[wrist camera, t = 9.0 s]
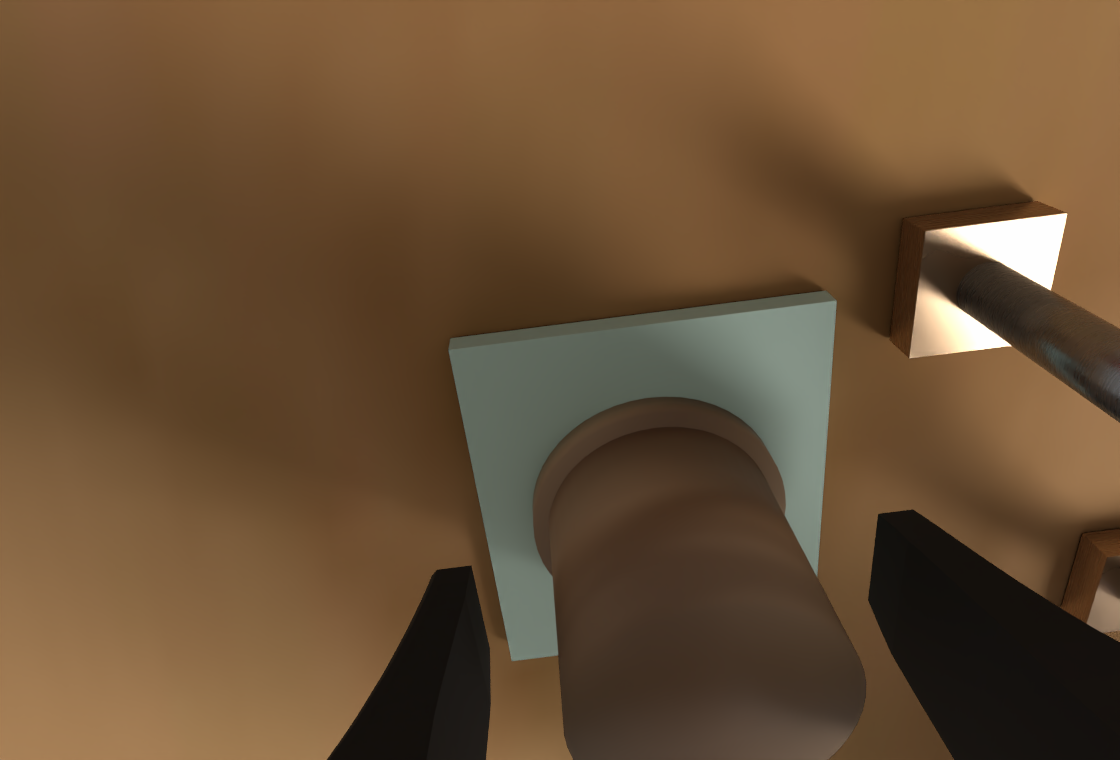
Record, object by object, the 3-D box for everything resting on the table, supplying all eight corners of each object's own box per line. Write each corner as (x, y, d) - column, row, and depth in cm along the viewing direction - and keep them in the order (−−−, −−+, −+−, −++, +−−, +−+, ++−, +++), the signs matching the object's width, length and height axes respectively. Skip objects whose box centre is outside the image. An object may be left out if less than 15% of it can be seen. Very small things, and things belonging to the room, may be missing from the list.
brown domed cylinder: (779, 381, 14) (905, 563, 10) (772, 579, 16) (871, 798, 12) (516, 414, 14) (519, 612, 10) (547, 607, 16) (562, 838, 12)
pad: (826, 290, 14) (836, 300, 13) (806, 606, 17) (814, 622, 17) (450, 338, 14) (448, 350, 13) (511, 644, 17) (511, 661, 17)
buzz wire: (1317, 164, 13) (1937, 301, 7) (1070, 836, 23) (1257, 1120, 17) (902, 217, 13) (1205, 394, 7) (831, 867, 23) (939, 1161, 17)
